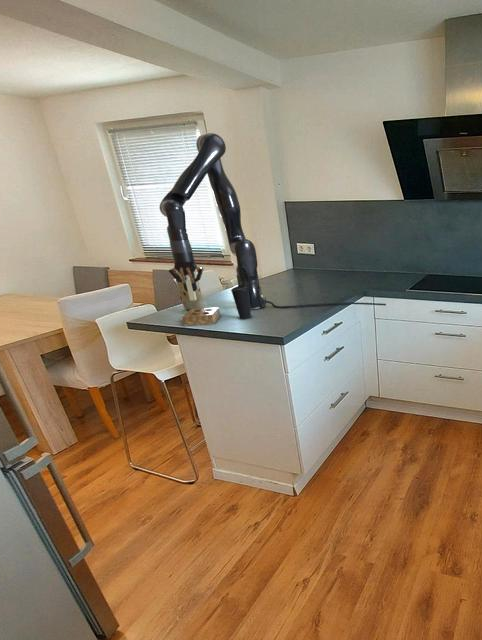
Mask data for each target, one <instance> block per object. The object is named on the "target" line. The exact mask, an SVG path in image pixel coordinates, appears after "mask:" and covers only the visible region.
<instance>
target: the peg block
mask: <svg viewBox="0 0 482 640" xmlns="http://www.w3.org/2000/svg"><path fill="white" fill-rule="evenodd" d="M220 317H221V311H220V308H219V307H206V308H205V307H203V308H202V309H190V310H187V312H186V313H184V314H183V316H181V319H182V322H183V326H186V327H187V326H201V325H214V324H215V323H217V321H218V320H219V318H220Z"/></svg>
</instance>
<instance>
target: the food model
mask: <svg viewBox="0 0 482 640" xmlns="http://www.w3.org/2000/svg"><path fill="white" fill-rule="evenodd" d="M176 271H177V270H176ZM176 273H177V274H178V275H179V276H180V278H181V274H180V273H179V272H178V271H177V272H176ZM194 275H195V279H196V277H197V270H195V271H194ZM186 278H187V279H190V277H189V275H187V277H186ZM181 279H182V278H181ZM175 283H176V284H175V285H176V288H177V291H178V292H177V293H178V296H179V298H180V301H181V304H182V306H183V307H184V309H185V310H187V311H189V310H190V309H203V308H205V304H204V303H205V302H204V299H203V298H204V297H203V293H202V290H201V285H200V280H199V281H197V282H196V285H197V290H196V291H195V293H196V297H197V299H196V300H193V301H190V298H189V294H188V292H186V290H184V286H183V283H181V282H178V281H177V280H176V279H175Z"/></svg>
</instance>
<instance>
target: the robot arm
mask: <svg viewBox="0 0 482 640" xmlns="http://www.w3.org/2000/svg"><path fill="white" fill-rule="evenodd" d="M195 143H196V144H195V145H196V149H197V152H198V153H197V155H196V156H195V157H194V159H193V161H191V162H190V164H189V165H188V166H187V167H186V168H185V169H184V170H183V171H182V173H181V174H180V175H179V176H178V178H177V179H176V181H175V183H174V185H173V187H172V188H171V190H170V191H168V192H167V193H166V195H165V196H164V197H163V198H162V199H161V201H160V203H159V211H160V213H161V215H162V216H164V217H166V220H167V226H166V232H167V237H168V240H169V247H170V251H171V255H172V260H173V263H174V264H173V268H170V269H169V270H168V273H170V275H171V276H172V277H173V278H174V280H175V281H176V280H177V281H178V282H181V283H183V286H184V290H186V292H188V289H187V285H186V282H185V280H187V278H186V277H187V275H189V277H190V279H191V282H192V283H191V284H192V288H193V291H196V290H197V285H196V282H197V281H199V282H200V281H201V278H202V276H203V272H204V267H200V266H198V265H197V264H196V262H195V257H194V254H193V248H192V245H191V244H192V243H191V242H190V240H189V235H188V230H187V221H186V211H185V208H184V205H185V204H186V203H187V202H189V201H190V200H191V199H192V198H193V196H194V194H195V193H196V192H197V190H198V188H199V187H200V185H201V183H202V182H203V180H204V179H205V177H206V176H207V177H208V181H209V184H210V187H211V190H212V194H213V198H214V200H215V205H216V207H217V209H218V212H219V216H220V218H221V221H222V223H223V226H224V229H225V233H226V238H227V241H228V246H229V250H230V252H231V253H232V255H233V256H234V257H235V258H236V264H237V265H236V268H235V271H236V274H238V277H239V282H240V285H242V286H246V287H249V298H250V310H251V311H252V310H259V309H263V308H264V306H266V305H267V304H271V305H272V307H274V308H276V309H288V308H290V309H291V308H303V307H317V306H331V305H364V306H365V305H366V306H367V305H368V306H387V303H378V302H343V301H341V302H323V303H322V302H321V303H308V304H307V303H306V304H296V305H283V306H279V305H276V304H275V303H273V301H270V300H267V298H266V297H263V291H262V286H261V285H260V281H259V280H260V279H259V274H258V258H257V257H258V256H257V251H256V250H257V249H256V247H255V245H254V243H253V242H252V241H251V240H249V239H248V238H246V236H245V233H244V230H243V227H242V220H241V217H242V214H241V213H242V212H241V205H240V201H239V198H238V195H237V192H236V189H235V187H234V186H233V184H232V182H231V181H230V179H229V178H228V176H227V174H226V172H225V169H224V167H223V163H222V157H223V156H224V155H225V154H226V152H227V151H226V149H227V147H226V143H225V140H224V139H223V138H222V136H220V135H219V134H217V133H213V132H208V133H204V134H201V135H199V136H198V137H197V139H196V142H195ZM176 270H177V271H178V272H179V273H180V274H181V278H182V279H181V278H180V276H179V275H178V274H177V273H176V272H177V271H176ZM194 271H196V275H197V277H196V279H195V275H194Z"/></svg>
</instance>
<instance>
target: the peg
mask: <svg viewBox="0 0 482 640" xmlns="http://www.w3.org/2000/svg"><path fill="white" fill-rule="evenodd" d="M185 282H186V285H187V289H188V294H189V298H190V301H193V300H196V299H197V297H196V293H195V291H193V288H192V284H191V283H192V282H191V279H187V280H185Z"/></svg>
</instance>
